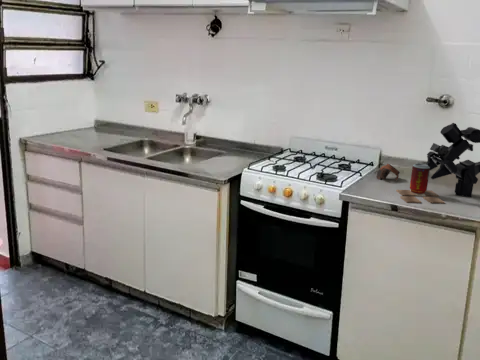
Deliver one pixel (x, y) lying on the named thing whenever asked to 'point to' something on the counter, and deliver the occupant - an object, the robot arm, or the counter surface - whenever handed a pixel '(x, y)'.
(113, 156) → the counter surface
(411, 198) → the lane broken
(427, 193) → the brown wooden board
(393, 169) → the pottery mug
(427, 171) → the soda can
